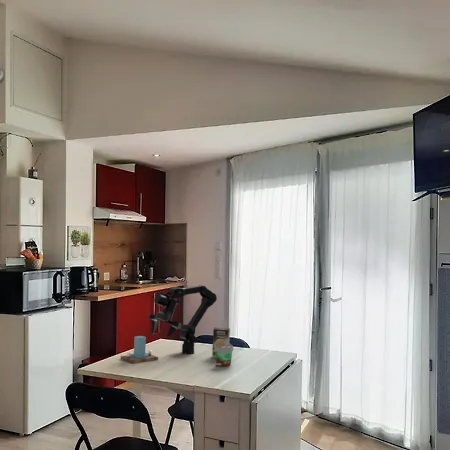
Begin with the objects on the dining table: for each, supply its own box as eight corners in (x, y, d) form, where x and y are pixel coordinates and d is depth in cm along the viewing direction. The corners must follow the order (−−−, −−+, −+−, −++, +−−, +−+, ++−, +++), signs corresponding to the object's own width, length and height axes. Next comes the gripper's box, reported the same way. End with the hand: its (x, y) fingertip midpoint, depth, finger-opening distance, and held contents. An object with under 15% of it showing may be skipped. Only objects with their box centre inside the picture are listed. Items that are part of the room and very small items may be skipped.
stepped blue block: (141, 354, 267) (142, 335, 267) (148, 357, 261) (149, 337, 262) (130, 356, 262) (131, 336, 263) (137, 358, 257) (137, 338, 257)
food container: (223, 368, 248) (224, 348, 248) (214, 366, 251) (214, 346, 252) (237, 364, 257) (238, 345, 258) (228, 362, 261) (229, 343, 262)
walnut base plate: (146, 355, 271) (146, 352, 271) (158, 359, 262) (158, 357, 262) (120, 359, 261) (120, 356, 261) (131, 363, 252) (131, 360, 252)
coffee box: (211, 358, 270) (212, 329, 271) (212, 355, 277) (213, 327, 278) (228, 359, 269) (229, 329, 270) (229, 356, 276) (230, 328, 277)
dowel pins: (150, 354, 267) (150, 350, 267) (151, 355, 266) (152, 350, 266) (126, 357, 258) (126, 353, 258) (128, 358, 256) (128, 353, 257)
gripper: (149, 301, 272) (139, 328, 267) (178, 310, 265) (168, 338, 261) (157, 305, 282) (147, 332, 277) (185, 314, 275) (176, 341, 271)
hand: (159, 336), depth 271 cm, fingers open, 9 cm apart
